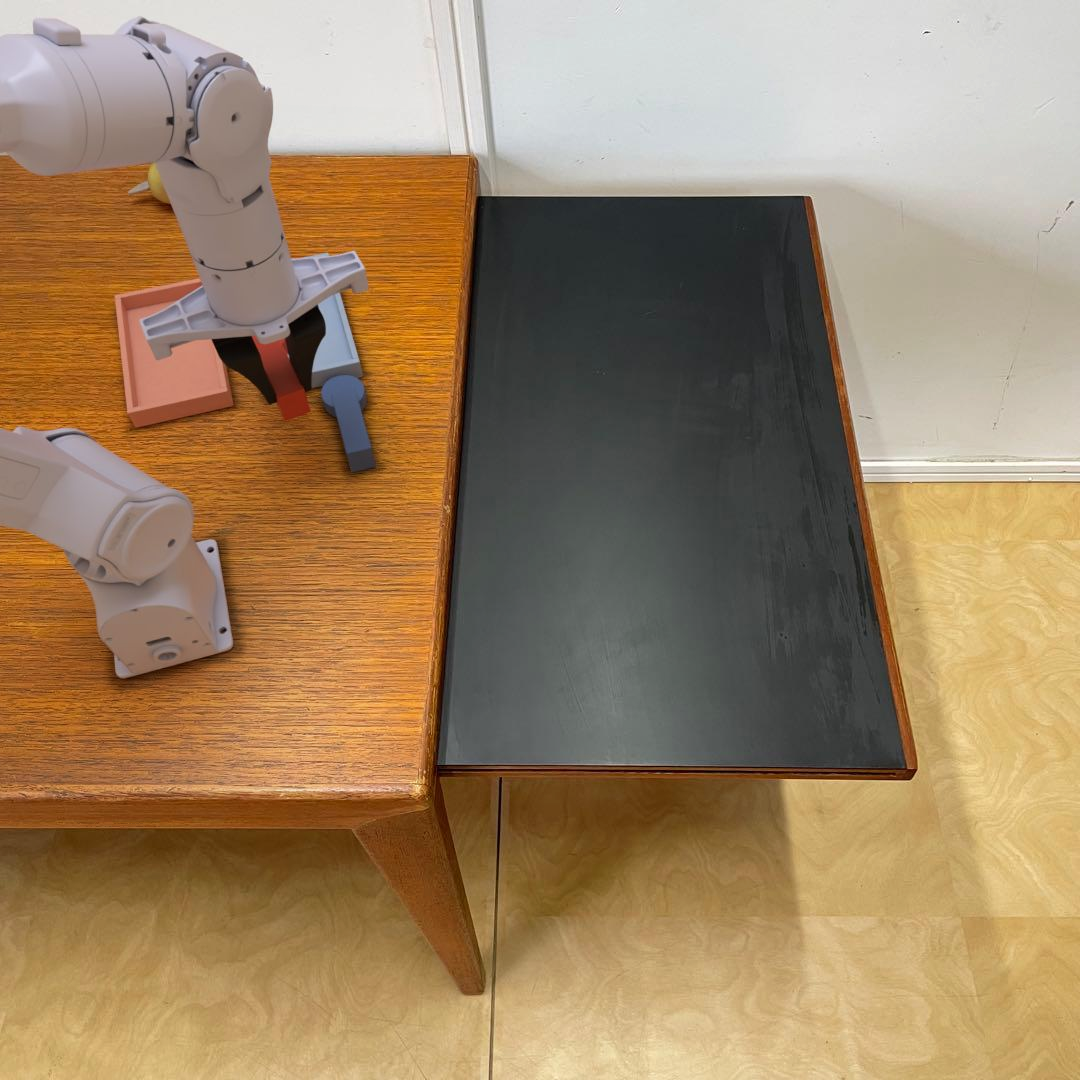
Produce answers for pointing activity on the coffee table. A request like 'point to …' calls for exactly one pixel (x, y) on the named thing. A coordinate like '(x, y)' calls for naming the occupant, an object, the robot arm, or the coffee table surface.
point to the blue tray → (335, 343)
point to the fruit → (152, 185)
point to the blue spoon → (350, 418)
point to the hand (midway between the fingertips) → (285, 388)
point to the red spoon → (283, 379)
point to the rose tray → (167, 363)
